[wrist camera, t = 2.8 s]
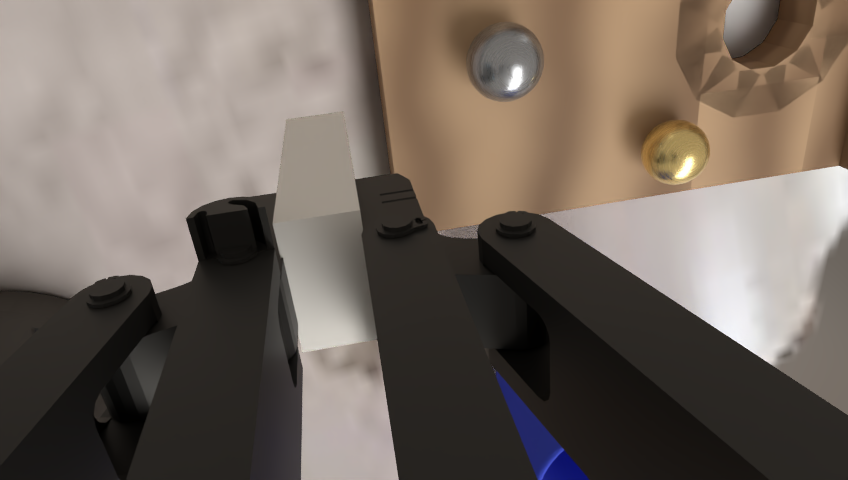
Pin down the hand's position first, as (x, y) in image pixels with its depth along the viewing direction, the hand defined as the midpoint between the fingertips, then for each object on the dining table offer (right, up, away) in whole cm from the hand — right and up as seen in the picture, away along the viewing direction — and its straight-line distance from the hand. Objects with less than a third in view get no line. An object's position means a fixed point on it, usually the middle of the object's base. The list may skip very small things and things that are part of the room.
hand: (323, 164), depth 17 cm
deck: (+12, +8, +13) cm, 20 cm away
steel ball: (+6, +5, +9) cm, 12 cm away
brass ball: (+14, +2, +12) cm, 19 cm away
